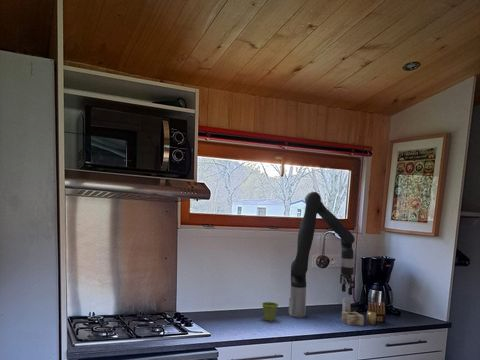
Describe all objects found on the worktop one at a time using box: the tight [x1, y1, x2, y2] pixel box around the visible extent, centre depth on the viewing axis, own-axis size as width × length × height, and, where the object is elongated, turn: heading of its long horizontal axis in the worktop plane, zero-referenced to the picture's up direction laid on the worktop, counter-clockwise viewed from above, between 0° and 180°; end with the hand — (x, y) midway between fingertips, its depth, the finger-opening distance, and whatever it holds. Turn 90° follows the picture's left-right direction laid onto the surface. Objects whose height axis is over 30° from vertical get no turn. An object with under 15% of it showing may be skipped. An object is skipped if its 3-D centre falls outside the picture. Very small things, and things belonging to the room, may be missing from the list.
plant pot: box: [261, 301, 279, 322], centre depth 215 cm, size 9×9×9 cm
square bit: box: [341, 297, 351, 313], centre depth 225 cm, size 3×3×12 cm
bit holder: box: [341, 311, 365, 326], centre depth 217 cm, size 9×9×5 cm
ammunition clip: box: [367, 301, 387, 324], centre depth 220 cm, size 11×2×12 cm, turn 95°
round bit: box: [366, 310, 377, 327], centre depth 215 cm, size 5×5×7 cm
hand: (346, 293), depth 225 cm, fingers open, 8 cm apart
